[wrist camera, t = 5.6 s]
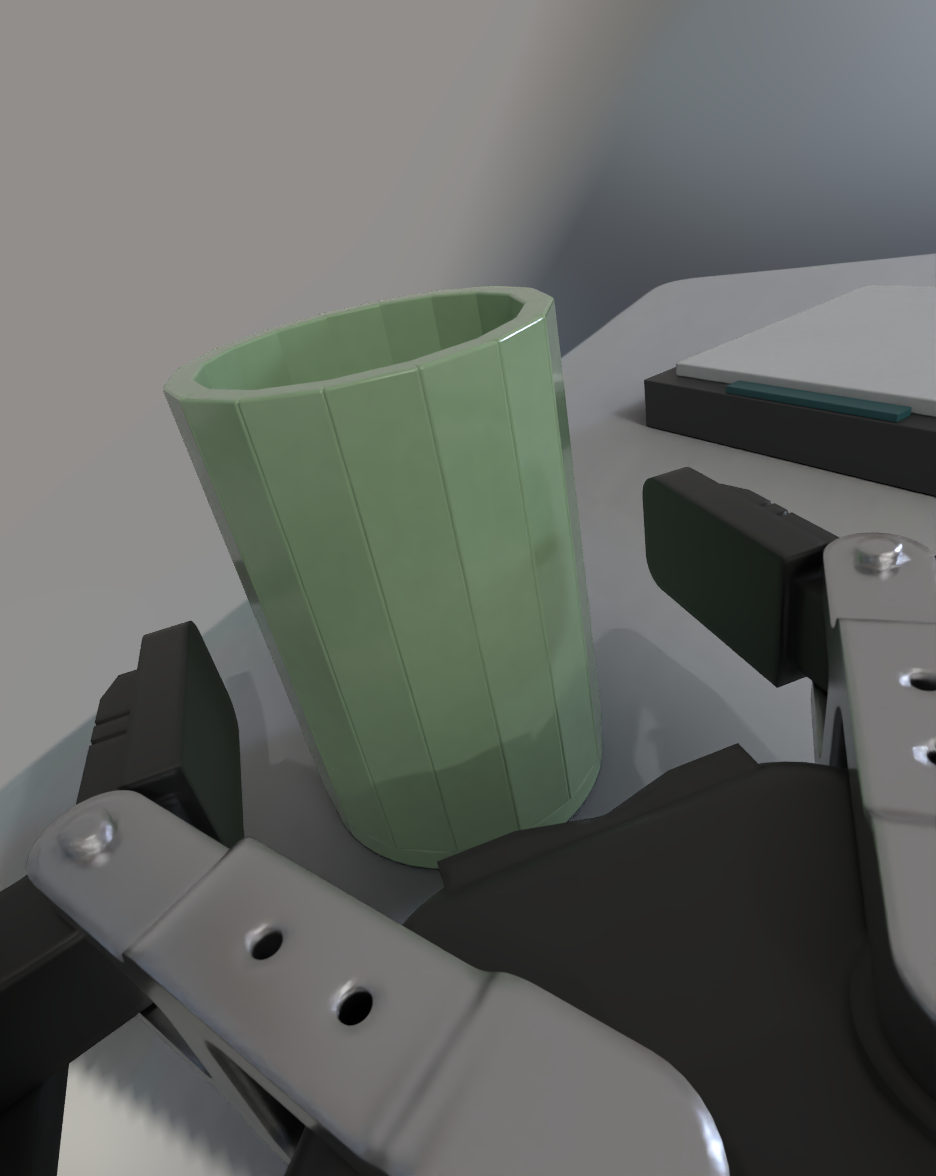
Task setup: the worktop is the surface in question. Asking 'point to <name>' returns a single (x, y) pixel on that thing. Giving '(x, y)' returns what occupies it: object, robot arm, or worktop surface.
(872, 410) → the scale
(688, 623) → the worktop surface
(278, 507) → the tumbler
